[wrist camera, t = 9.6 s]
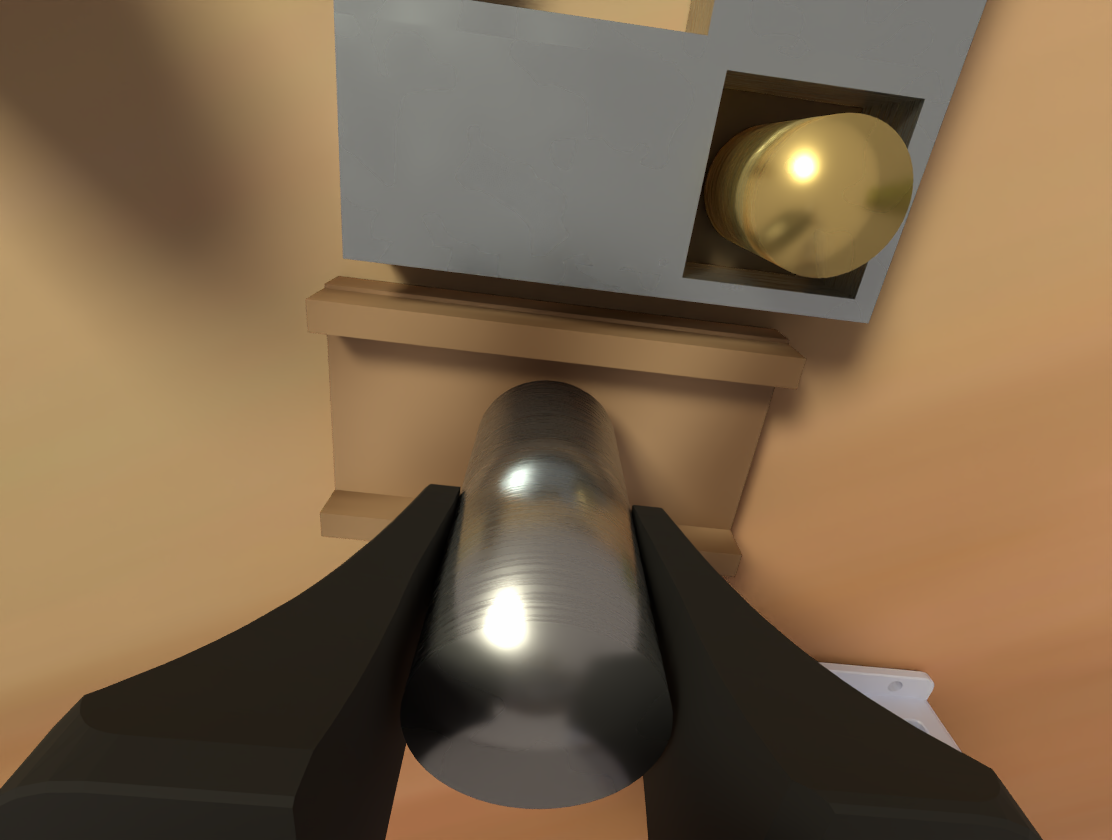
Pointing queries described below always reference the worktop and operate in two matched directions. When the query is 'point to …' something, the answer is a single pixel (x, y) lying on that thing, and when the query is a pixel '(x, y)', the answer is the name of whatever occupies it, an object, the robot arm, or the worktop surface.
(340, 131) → the socket block
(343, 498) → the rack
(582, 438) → the silver metal cylinder
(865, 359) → the worktop surface
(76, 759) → the robot arm
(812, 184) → the pin
